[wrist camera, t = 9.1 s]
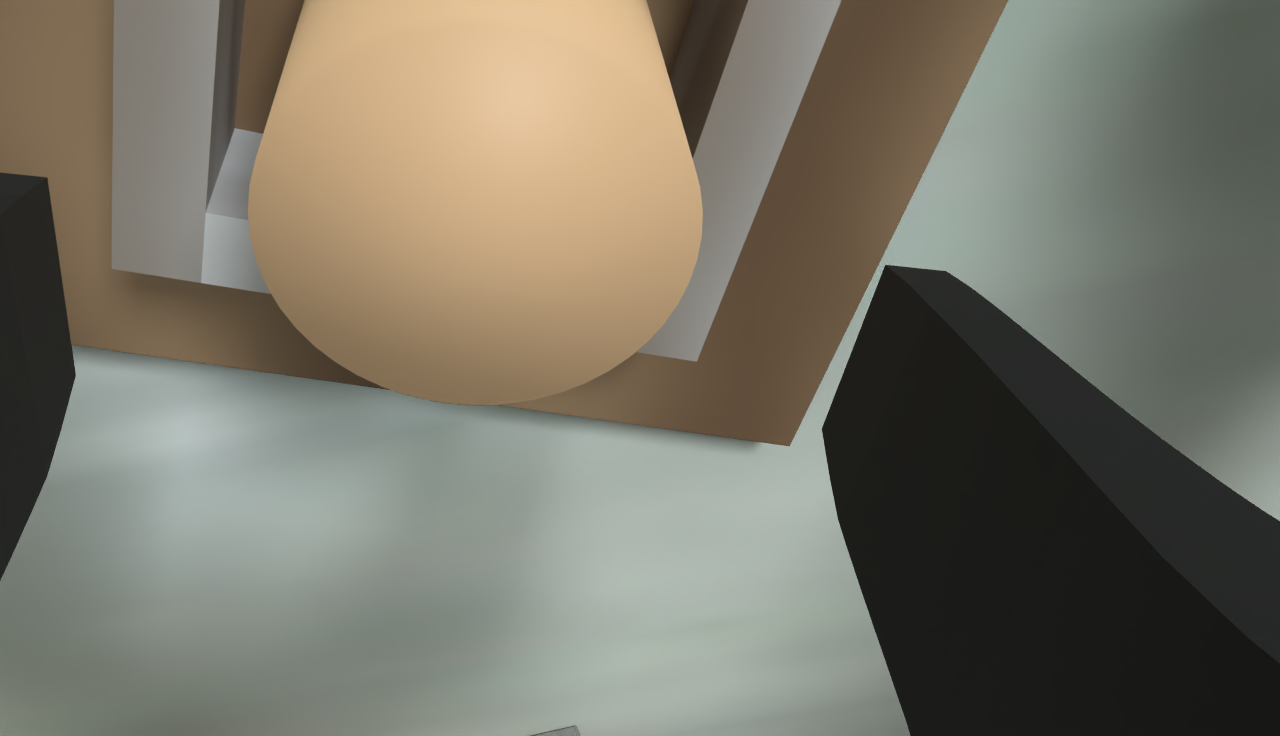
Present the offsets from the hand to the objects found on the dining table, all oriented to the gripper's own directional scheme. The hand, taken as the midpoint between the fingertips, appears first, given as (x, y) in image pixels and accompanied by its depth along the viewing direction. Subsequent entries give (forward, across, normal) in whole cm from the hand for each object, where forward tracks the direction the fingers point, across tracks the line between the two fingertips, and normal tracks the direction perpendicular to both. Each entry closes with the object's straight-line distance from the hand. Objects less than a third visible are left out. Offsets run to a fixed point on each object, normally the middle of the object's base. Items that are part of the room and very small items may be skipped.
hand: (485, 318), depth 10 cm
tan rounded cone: (+8, 0, 0) cm, 8 cm away
